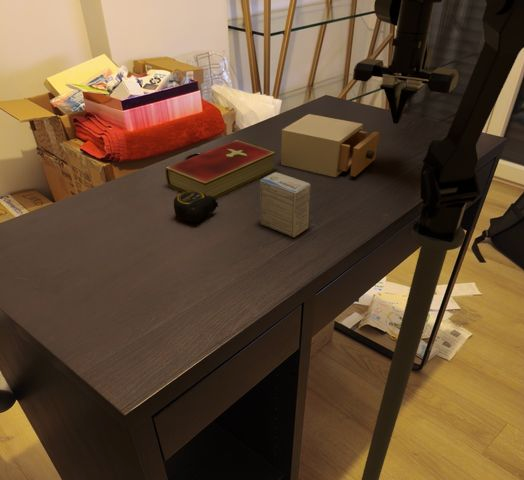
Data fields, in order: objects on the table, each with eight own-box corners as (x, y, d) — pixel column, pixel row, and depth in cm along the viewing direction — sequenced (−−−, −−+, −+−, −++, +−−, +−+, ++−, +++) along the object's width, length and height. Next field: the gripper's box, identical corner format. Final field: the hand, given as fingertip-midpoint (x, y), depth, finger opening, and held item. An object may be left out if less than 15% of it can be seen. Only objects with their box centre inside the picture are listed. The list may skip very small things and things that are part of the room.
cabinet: (358, 158, 111) (363, 123, 106) (335, 177, 103) (339, 141, 98) (306, 147, 116) (308, 113, 111) (280, 164, 108) (281, 129, 103)
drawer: (380, 159, 108) (384, 133, 104) (360, 177, 101) (364, 150, 97) (325, 148, 113) (327, 122, 109) (303, 164, 106) (304, 137, 102)
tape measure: (195, 228, 87) (193, 209, 84) (167, 218, 90) (165, 199, 87) (219, 214, 91) (217, 195, 88) (191, 204, 94) (190, 186, 91)
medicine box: (308, 229, 86) (311, 183, 81) (293, 239, 84) (295, 192, 78) (275, 216, 90) (275, 170, 84) (259, 224, 88) (259, 178, 82)
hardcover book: (167, 185, 100) (164, 165, 97) (236, 156, 112) (235, 138, 109) (206, 202, 94) (205, 181, 92) (275, 170, 106) (275, 150, 103)
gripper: (476, 28, 87) (453, 119, 97) (379, 19, 94) (367, 105, 105) (460, 39, 80) (437, 136, 90) (357, 28, 87) (347, 119, 98)
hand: (396, 123), depth 96 cm, fingers closed
